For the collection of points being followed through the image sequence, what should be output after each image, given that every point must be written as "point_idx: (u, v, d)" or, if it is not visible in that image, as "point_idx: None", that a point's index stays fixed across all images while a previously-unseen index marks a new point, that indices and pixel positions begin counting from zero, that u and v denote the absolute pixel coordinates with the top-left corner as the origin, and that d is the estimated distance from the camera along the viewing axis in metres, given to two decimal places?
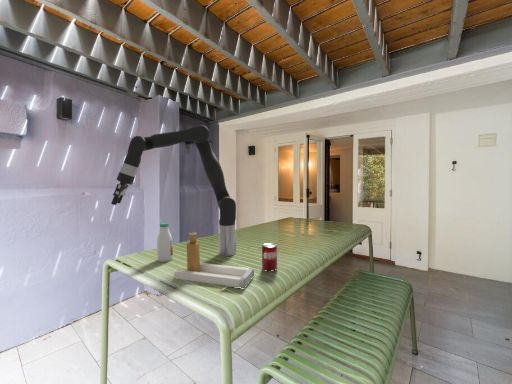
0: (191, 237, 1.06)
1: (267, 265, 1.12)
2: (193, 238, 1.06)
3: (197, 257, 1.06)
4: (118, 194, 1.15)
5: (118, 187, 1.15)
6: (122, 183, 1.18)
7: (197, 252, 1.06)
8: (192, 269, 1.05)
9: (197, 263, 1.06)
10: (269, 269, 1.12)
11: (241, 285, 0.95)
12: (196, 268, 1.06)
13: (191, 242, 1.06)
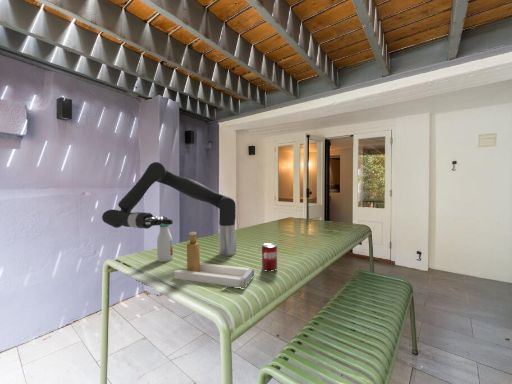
0: (191, 237, 1.06)
1: (267, 265, 1.12)
2: (193, 238, 1.06)
3: (197, 257, 1.06)
4: (156, 220, 1.08)
5: (149, 223, 1.07)
6: (143, 221, 1.10)
7: (197, 252, 1.06)
8: (192, 269, 1.05)
9: (197, 263, 1.06)
10: (269, 269, 1.12)
11: (241, 285, 0.95)
12: (196, 268, 1.06)
13: (191, 242, 1.06)
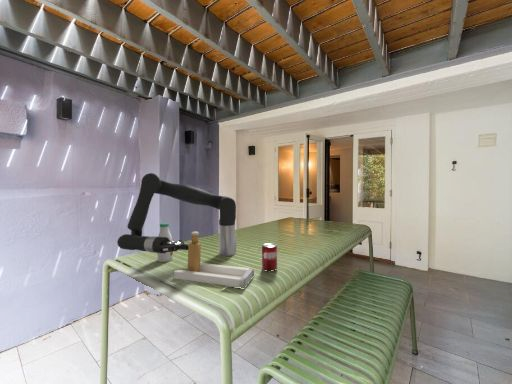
0: (193, 237, 1.06)
1: (267, 265, 1.12)
2: (196, 238, 1.06)
3: (198, 257, 1.06)
4: (174, 246, 1.06)
5: (167, 250, 1.05)
6: (161, 247, 1.08)
7: (198, 252, 1.06)
8: (192, 269, 1.05)
9: (198, 263, 1.06)
10: (269, 269, 1.12)
11: (241, 285, 0.95)
12: (196, 268, 1.06)
13: (193, 242, 1.06)
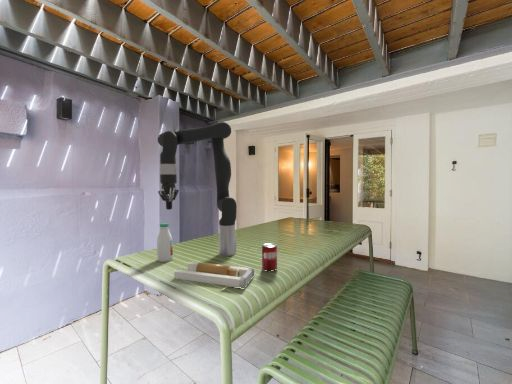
0: (233, 274, 1.01)
1: (267, 265, 1.12)
2: None
3: None
4: (165, 199, 1.13)
5: (161, 194, 1.11)
6: (163, 184, 1.13)
7: None
8: None
9: None
10: (269, 269, 1.12)
11: (241, 285, 0.95)
12: None
13: (228, 273, 1.02)
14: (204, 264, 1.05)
